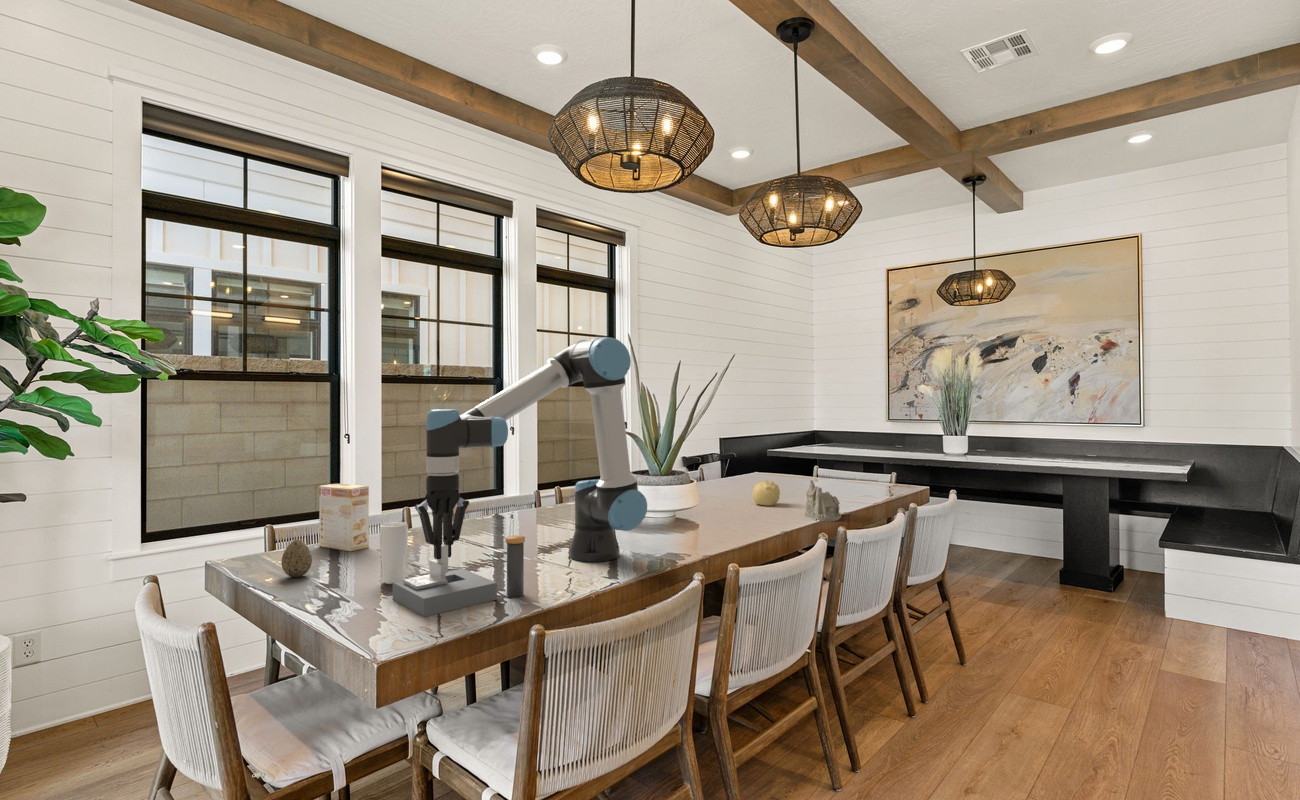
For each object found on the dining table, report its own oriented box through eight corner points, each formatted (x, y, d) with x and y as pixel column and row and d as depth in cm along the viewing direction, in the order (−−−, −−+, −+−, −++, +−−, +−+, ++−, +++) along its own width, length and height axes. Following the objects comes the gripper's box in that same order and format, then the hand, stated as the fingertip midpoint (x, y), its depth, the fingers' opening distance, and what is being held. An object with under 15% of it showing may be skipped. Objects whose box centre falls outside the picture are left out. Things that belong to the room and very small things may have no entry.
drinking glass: (386, 578, 174) (386, 521, 174) (411, 578, 174) (411, 521, 174) (375, 585, 168) (375, 526, 167) (401, 585, 167) (401, 526, 167)
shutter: (433, 576, 161) (433, 558, 161) (447, 583, 155) (447, 564, 155) (403, 582, 155) (403, 564, 155) (416, 589, 150) (416, 570, 150)
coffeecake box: (369, 547, 209) (369, 485, 209) (350, 552, 203) (350, 488, 202) (338, 542, 216) (338, 482, 216) (318, 546, 210) (318, 485, 209)
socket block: (462, 584, 169) (462, 568, 169) (496, 599, 157) (496, 582, 156) (392, 599, 157) (392, 582, 157) (423, 616, 144) (423, 598, 144)
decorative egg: (317, 575, 176) (317, 538, 176) (291, 582, 170) (291, 543, 170) (301, 571, 180) (301, 535, 180) (275, 578, 174) (275, 540, 174)
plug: (518, 591, 163) (518, 534, 163) (528, 595, 160) (528, 537, 160) (501, 594, 160) (501, 537, 160) (511, 599, 157) (512, 540, 157)
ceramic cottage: (816, 521, 252) (818, 482, 252) (797, 515, 268) (799, 478, 268) (853, 522, 255) (855, 483, 256) (833, 516, 271) (834, 479, 272)
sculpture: (777, 508, 282) (777, 482, 282) (749, 506, 287) (749, 481, 286) (782, 503, 293) (782, 479, 293) (755, 502, 297) (755, 478, 297)
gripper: (460, 470, 165) (460, 564, 165) (409, 474, 156) (409, 573, 157) (475, 472, 160) (475, 570, 160) (423, 477, 151) (423, 580, 151)
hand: (442, 571), depth 158 cm, fingers closed
